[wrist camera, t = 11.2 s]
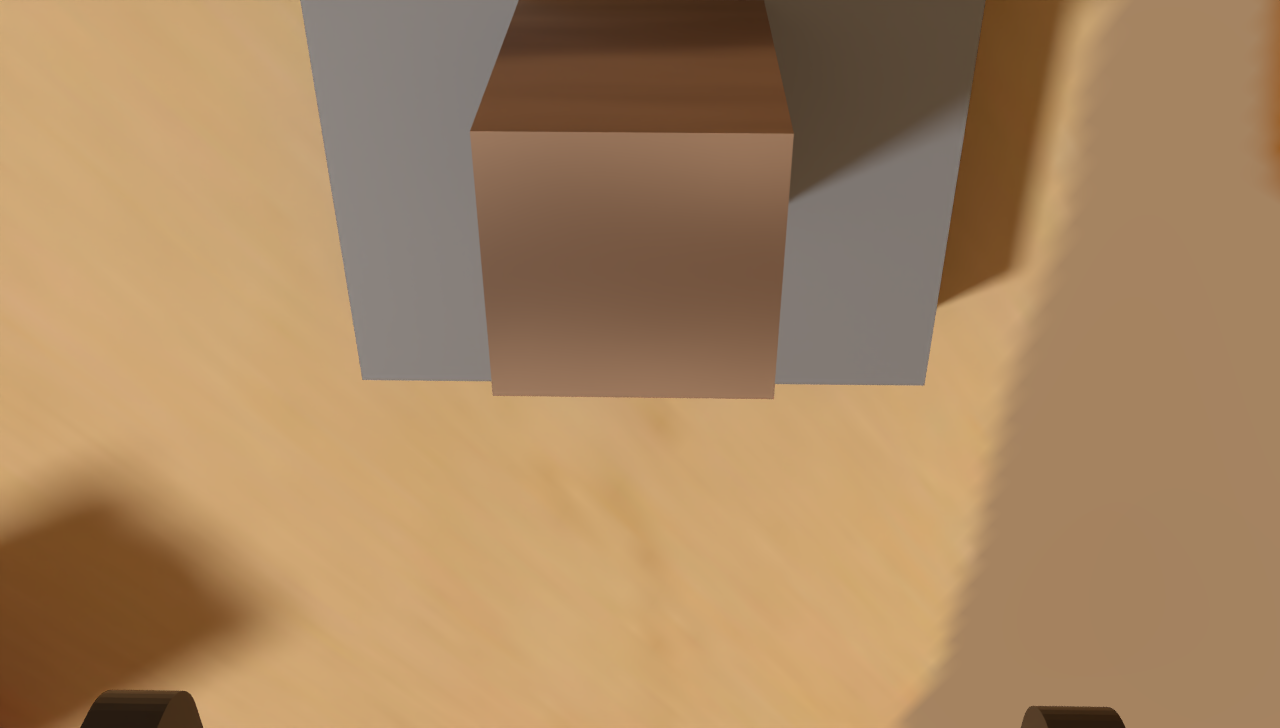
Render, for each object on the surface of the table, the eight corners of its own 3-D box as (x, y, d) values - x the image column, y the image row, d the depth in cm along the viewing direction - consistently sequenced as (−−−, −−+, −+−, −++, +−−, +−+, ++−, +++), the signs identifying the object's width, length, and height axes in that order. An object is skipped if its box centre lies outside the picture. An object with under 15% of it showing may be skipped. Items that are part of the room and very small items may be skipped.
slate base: (302, -266, 24) (259, -249, 21) (988, -266, 24) (1025, -250, 21) (386, 317, 32) (362, 379, 29) (903, 322, 31) (924, 385, 29)
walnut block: (518, -2, 24) (470, 131, 18) (764, 0, 24) (794, 133, 18) (532, 219, 27) (492, 395, 21) (751, 221, 27) (773, 398, 21)
